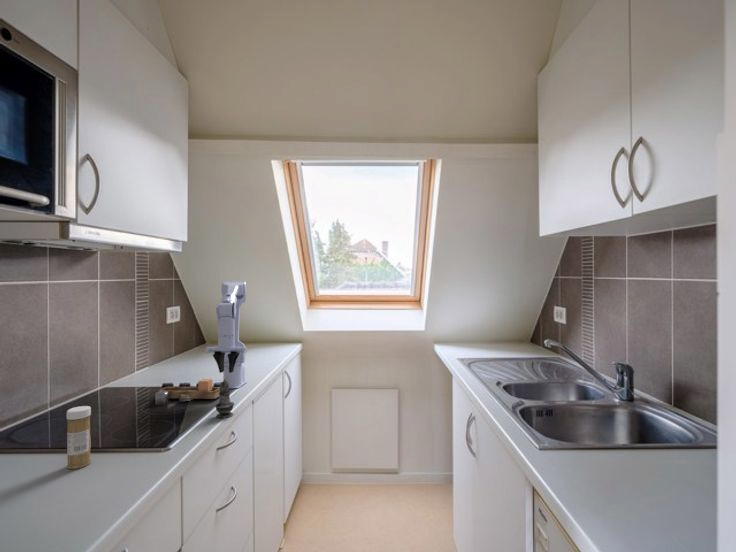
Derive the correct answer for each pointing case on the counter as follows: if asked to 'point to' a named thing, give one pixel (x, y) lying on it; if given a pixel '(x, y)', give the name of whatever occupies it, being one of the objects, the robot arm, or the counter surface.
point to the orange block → (205, 385)
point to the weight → (161, 398)
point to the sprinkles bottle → (78, 437)
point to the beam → (190, 393)
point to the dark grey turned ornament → (224, 401)
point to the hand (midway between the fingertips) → (226, 372)
